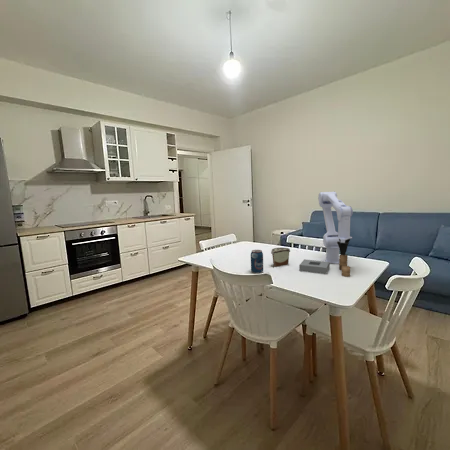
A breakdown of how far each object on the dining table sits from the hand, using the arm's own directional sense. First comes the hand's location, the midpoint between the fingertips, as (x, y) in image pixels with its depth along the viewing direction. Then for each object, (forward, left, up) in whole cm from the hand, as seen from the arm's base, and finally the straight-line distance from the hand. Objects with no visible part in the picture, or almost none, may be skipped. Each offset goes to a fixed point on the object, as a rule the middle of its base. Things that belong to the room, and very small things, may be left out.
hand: (343, 253), depth 135 cm
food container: (+5, -35, -9) cm, 37 cm away
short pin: (+10, +2, -9) cm, 14 cm away
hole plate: (+6, -14, -9) cm, 18 cm away
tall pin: (0, 0, -9) cm, 9 cm away
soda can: (+22, -42, -9) cm, 48 cm away
